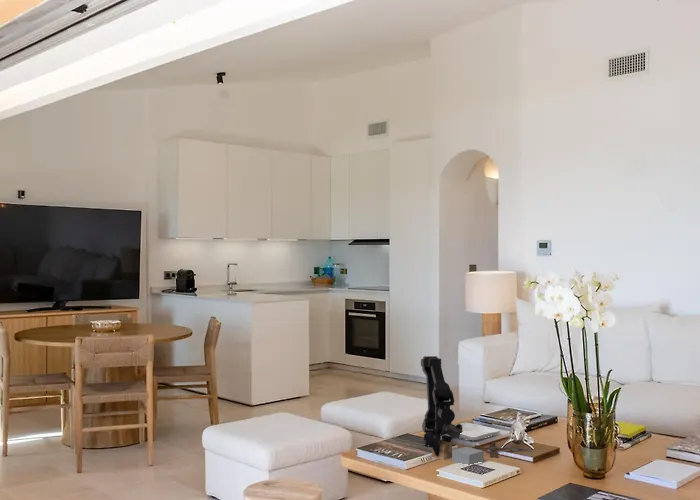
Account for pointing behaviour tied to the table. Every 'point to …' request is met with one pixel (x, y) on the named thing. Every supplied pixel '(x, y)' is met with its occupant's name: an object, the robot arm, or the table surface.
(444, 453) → the walnut cube
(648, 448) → the table surface
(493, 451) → the bear figurine
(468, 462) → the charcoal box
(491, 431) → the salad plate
